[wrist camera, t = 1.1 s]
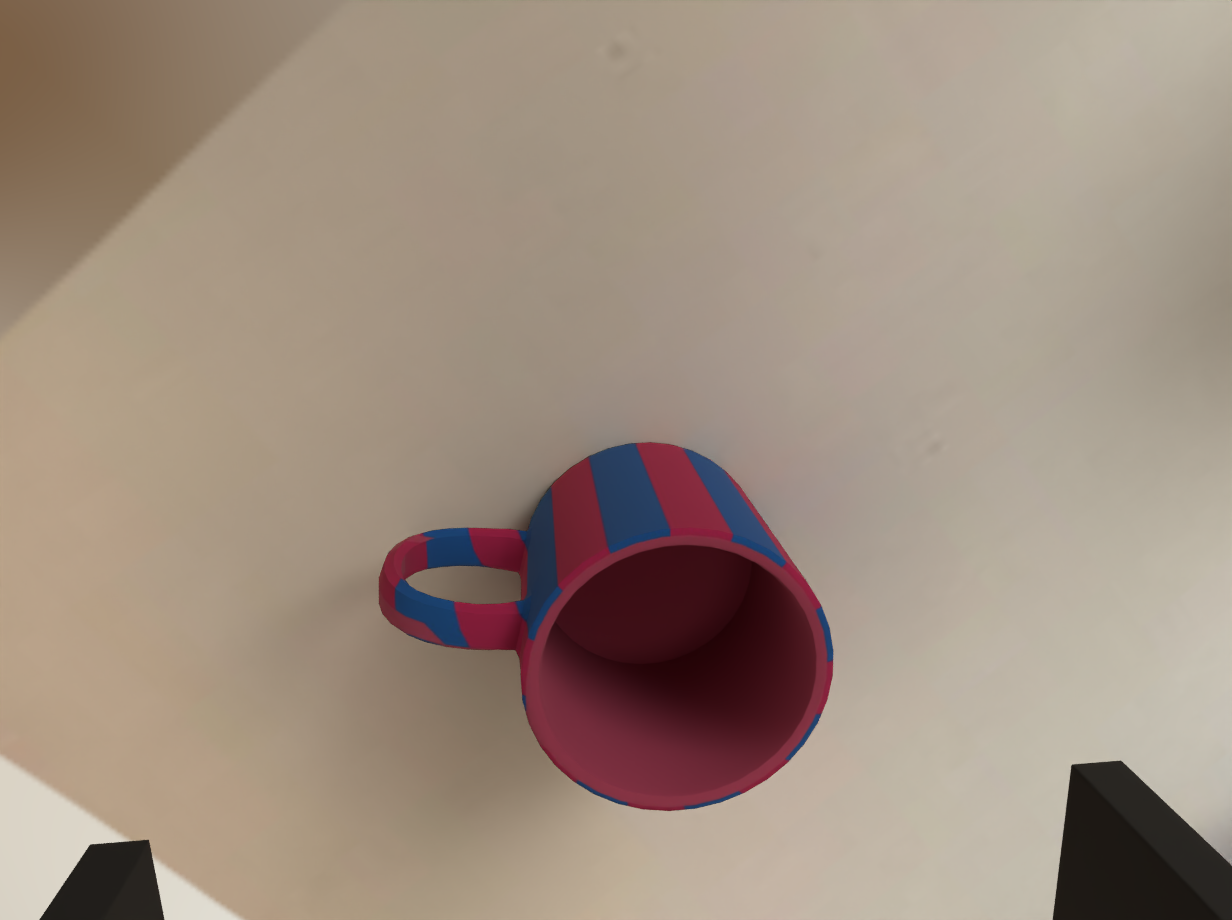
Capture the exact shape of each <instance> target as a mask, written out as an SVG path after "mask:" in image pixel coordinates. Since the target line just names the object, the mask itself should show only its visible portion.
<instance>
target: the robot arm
mask: <svg viewBox="0 0 1232 920" xmlns="http://www.w3.org/2000/svg"><path fill="white" fill-rule="evenodd" d="M40 920H164V915H163V910H162V905H161V900H160V895H159V889H158V885H157V879H156V874H155V869H154V864H153V859H152V853H151V848H150V843H149V840H141V841H128V842H117V843H106V844H105V843H104V844H92V845H90V846H89V847H88V849H87V850H86V852H85V853H84V855H83V856H82V858H81V859H80V861H79V862H78V864H77V865H76V867H75V868H74V870H73V871H72V872H71V874H70V875H69V877H68V878H67V880H66V881H65V883H64V884H63V886H62V887H61V889H60V890H59V892H58V893H57V895H56V896H55V898H54V899H53V901H52V902H51V904H50V905H49V907H48V908H47V910H46V911H45V912H44V914H43V915H42V917H41V918H40ZM1053 920H1232V865H1230V864H1229V863H1228V862H1227V861H1226V860H1225V859H1224V858H1223V857H1222V856H1221V855H1220V854H1219V853H1218V852H1217V851H1216V850H1215V849H1214V848H1213V847H1212V846H1210V845H1209V844H1208V843H1207V842H1206V841H1205V840H1204V839H1203V838H1202V837H1201V836H1200V835H1199V834H1198V833H1197V832H1196V831H1195V830H1194V829H1193V828H1192V827H1190V826H1189V825H1188V824H1187V823H1186V822H1185V821H1184V820H1183V819H1182V818H1181V817H1180V816H1179V815H1178V814H1177V813H1176V812H1175V811H1174V810H1173V809H1171V808H1170V807H1169V806H1168V805H1167V804H1166V803H1165V802H1164V801H1163V800H1162V799H1161V798H1160V797H1159V796H1158V795H1157V794H1156V793H1155V792H1154V791H1153V790H1151V789H1150V788H1149V787H1148V786H1147V785H1146V784H1145V783H1144V782H1143V781H1142V780H1141V779H1140V778H1139V777H1138V776H1137V775H1136V774H1135V773H1134V772H1132V771H1131V770H1130V769H1129V768H1128V767H1127V766H1126V765H1125V764H1124V763H1123V762H1122V761H1111V762H1099V763H1087V764H1074V765H1072V766H1071V774H1070V782H1069V790H1068V799H1067V807H1066V815H1065V823H1064V831H1063V840H1062V848H1061V856H1060V864H1059V872H1058V881H1057V889H1056V897H1055V905H1054V913H1053Z"/></svg>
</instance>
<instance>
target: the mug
mask: <svg viewBox="0 0 1232 920" xmlns="http://www.w3.org/2000/svg"><path fill="white" fill-rule="evenodd" d="M448 566H480V567H489V568H496V569H503V570H508V571H514V572H518V573H519V575H520V577H521V600H520V601H515V602H509V603H501V604H471V603H462V602H454V601H450V600H445V599H441V598H436V597H433V596H430V595H427V594H425V593H422V592H420V591H417V590H415V589H414V588H412V587H411V586H409V584H408V583H407V582H406V580H405V579H406V578H408V577H409V576H411V575H413V574H414V573H416V572H419V571H422V570H425V569H431V568H438V567H448ZM379 605H380V608H381V611H382V613H383V615H384V616H385V617H386V618H387V620H388V621H389V622H390V623H391V624H392V625H394V626H395V627H397V628H398V629H400V630H401V631H403V632H404V633H406V634H407V635H409V636H411V637H414V638H416V639H419V640H422V641H424V642H427V643H432V644H436V645H441V646H445V647H452V648H461V649H471V650H497V649H499V650H516V652H517V654H518V656H519V659H520V669H521V687H522V700H523V704H524V708H525V711H526V715H527V718H528V722H529V725H530V727H531V729H532V731H533V733H534V735H535V737H536V739H537V741H538V743H539V745H540V746H541V748H542V749H543V750H544V751H545V753H546V754H547V755H548V757H549V758H550V759H551V760H552V762H553V763H554V764H555V765H556V766H557V767H558V768H559V769H560V770H561V771H562V772H563V773H565V774H566V775H567V776H568V777H569V778H570V779H571V780H572V781H574V782H575V783H577V784H579V785H580V786H582V787H583V788H585V789H587V790H588V791H590V792H592V793H593V794H595V795H597V796H600V797H603V798H605V799H608V800H610V801H613V802H615V803H618V804H622V805H626V806H631V807H635V808H640V809H647V810H663V811H673V810H684V809H695V808H699V807H704V806H708V805H712V804H716V803H720V802H723V801H725V800H728V799H730V798H733V797H735V796H738V795H740V794H742V793H745V792H747V791H748V790H750V789H752V788H753V787H755V786H757V785H758V784H760V783H762V782H763V781H765V780H767V779H768V778H769V777H771V776H772V775H773V774H774V773H776V772H777V771H778V770H779V769H780V768H782V767H783V766H784V765H785V764H787V763H788V762H789V760H790V759H791V758H792V757H793V756H794V755H795V754H796V753H797V751H798V750H799V749H800V748H801V747H802V746H803V745H804V743H805V742H806V740H807V739H808V737H809V736H810V734H811V732H812V731H813V729H814V728H815V726H816V725H817V723H818V721H819V718H820V716H821V714H822V711H823V709H824V706H825V704H826V702H827V699H828V694H829V690H830V685H831V681H832V676H833V646H832V640H831V634H830V628H829V625H828V622H827V620H826V617H825V614H824V612H823V609H822V606H821V604H820V602H819V601H818V599H817V597H816V596H815V594H814V593H813V591H812V589H811V588H810V586H809V585H808V583H807V582H806V580H805V579H804V577H803V576H802V574H801V573H800V572H799V570H798V569H797V567H796V566H795V564H794V563H793V562H792V560H791V559H790V557H789V556H788V554H787V553H786V552H785V550H784V549H783V547H782V546H781V544H780V543H779V542H778V540H777V539H776V537H775V536H774V534H773V533H772V532H771V530H770V529H769V527H768V526H767V524H766V523H765V522H764V520H763V519H762V517H761V516H760V514H759V513H758V512H757V510H756V509H755V507H754V506H753V504H752V503H751V502H750V500H749V499H748V497H747V496H746V494H745V493H744V492H743V490H742V489H741V487H740V486H739V485H738V484H737V483H736V482H735V481H734V480H733V478H732V477H731V476H730V475H729V474H728V473H727V472H726V471H725V470H723V469H722V468H721V467H719V466H718V465H717V464H715V463H714V462H713V461H711V460H710V459H708V458H706V457H704V456H702V455H700V454H698V453H696V452H694V451H691V450H688V449H685V448H681V447H678V446H674V445H669V444H660V443H651V442H649V443H632V444H625V445H621V446H617V447H613V448H608V449H606V450H603V451H601V452H599V453H596V454H594V455H591V456H589V457H587V458H585V459H584V460H582V461H581V462H579V463H578V464H576V465H574V466H573V467H571V468H570V469H569V470H567V471H566V472H565V473H564V474H563V475H562V476H561V477H560V478H559V479H558V480H556V481H555V482H554V483H553V485H552V486H551V487H550V488H549V490H548V491H547V492H546V494H545V495H544V496H543V497H542V499H541V500H540V502H539V504H538V506H537V508H536V510H535V512H534V514H533V516H532V518H531V521H530V524H529V527H528V530H527V531H520V530H513V529H491V528H448V529H440V530H432V531H428V532H425V533H421V534H417V535H414V536H411V537H408V538H407V539H405V540H403V541H401V542H400V543H398V544H396V545H395V546H394V548H393V549H392V550H391V551H390V552H389V553H388V555H387V557H386V559H385V562H384V564H383V567H382V570H381V573H380V576H379Z"/></svg>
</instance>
